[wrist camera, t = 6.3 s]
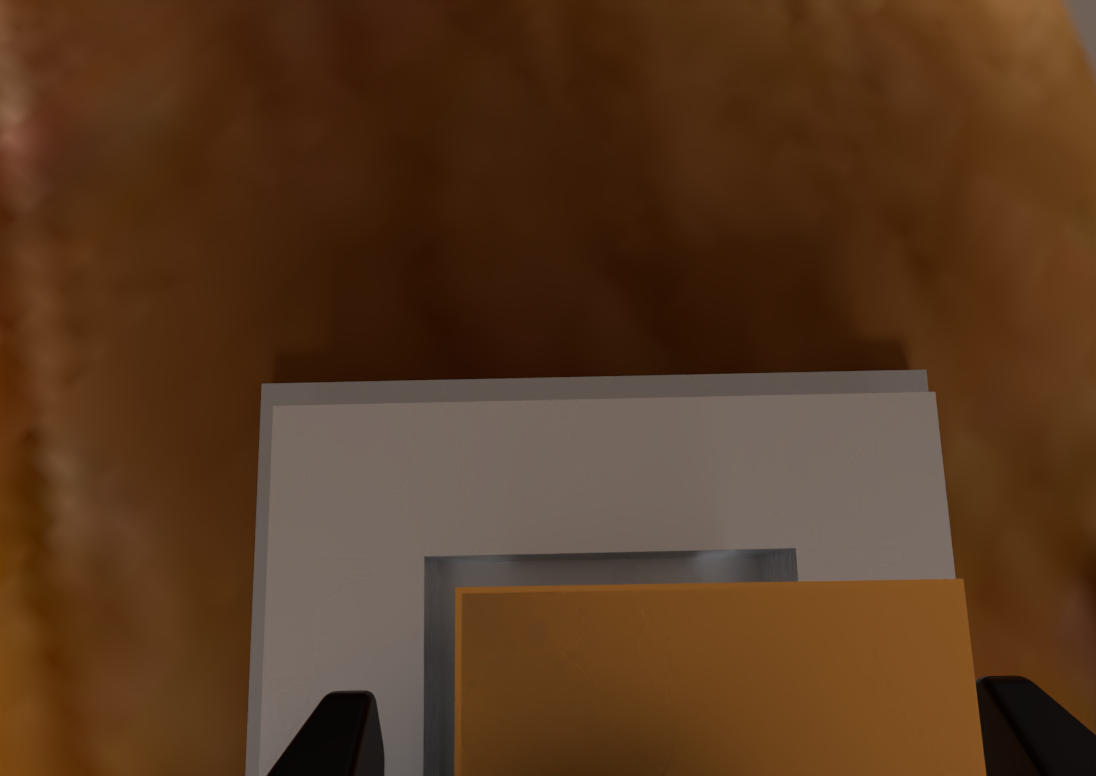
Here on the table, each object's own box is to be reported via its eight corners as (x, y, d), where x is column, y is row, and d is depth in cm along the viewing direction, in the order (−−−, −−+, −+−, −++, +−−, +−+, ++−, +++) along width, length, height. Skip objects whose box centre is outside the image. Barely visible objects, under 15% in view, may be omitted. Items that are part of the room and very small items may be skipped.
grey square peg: (721, 832, 19) (1033, 1170, 7) (505, 837, 18) (450, 1184, 7) (708, 611, 20) (963, 578, 8) (504, 614, 19) (454, 587, 8)
